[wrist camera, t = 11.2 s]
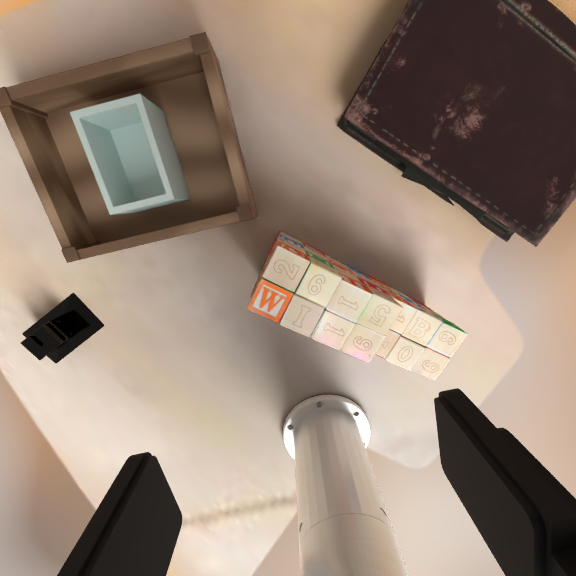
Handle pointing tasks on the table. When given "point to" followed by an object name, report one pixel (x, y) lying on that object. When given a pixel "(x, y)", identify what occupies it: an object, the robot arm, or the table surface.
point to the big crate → (184, 129)
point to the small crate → (131, 154)
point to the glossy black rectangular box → (61, 330)
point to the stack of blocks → (350, 310)
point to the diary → (478, 108)
